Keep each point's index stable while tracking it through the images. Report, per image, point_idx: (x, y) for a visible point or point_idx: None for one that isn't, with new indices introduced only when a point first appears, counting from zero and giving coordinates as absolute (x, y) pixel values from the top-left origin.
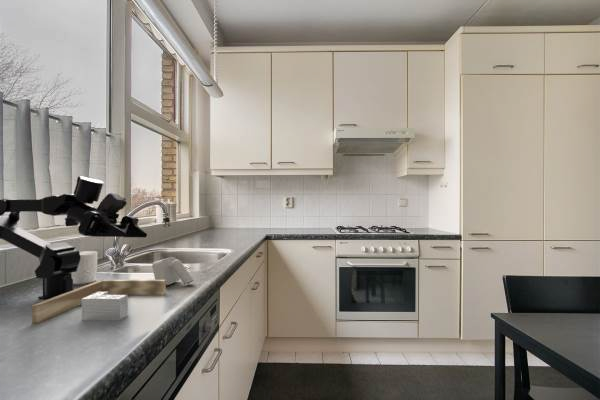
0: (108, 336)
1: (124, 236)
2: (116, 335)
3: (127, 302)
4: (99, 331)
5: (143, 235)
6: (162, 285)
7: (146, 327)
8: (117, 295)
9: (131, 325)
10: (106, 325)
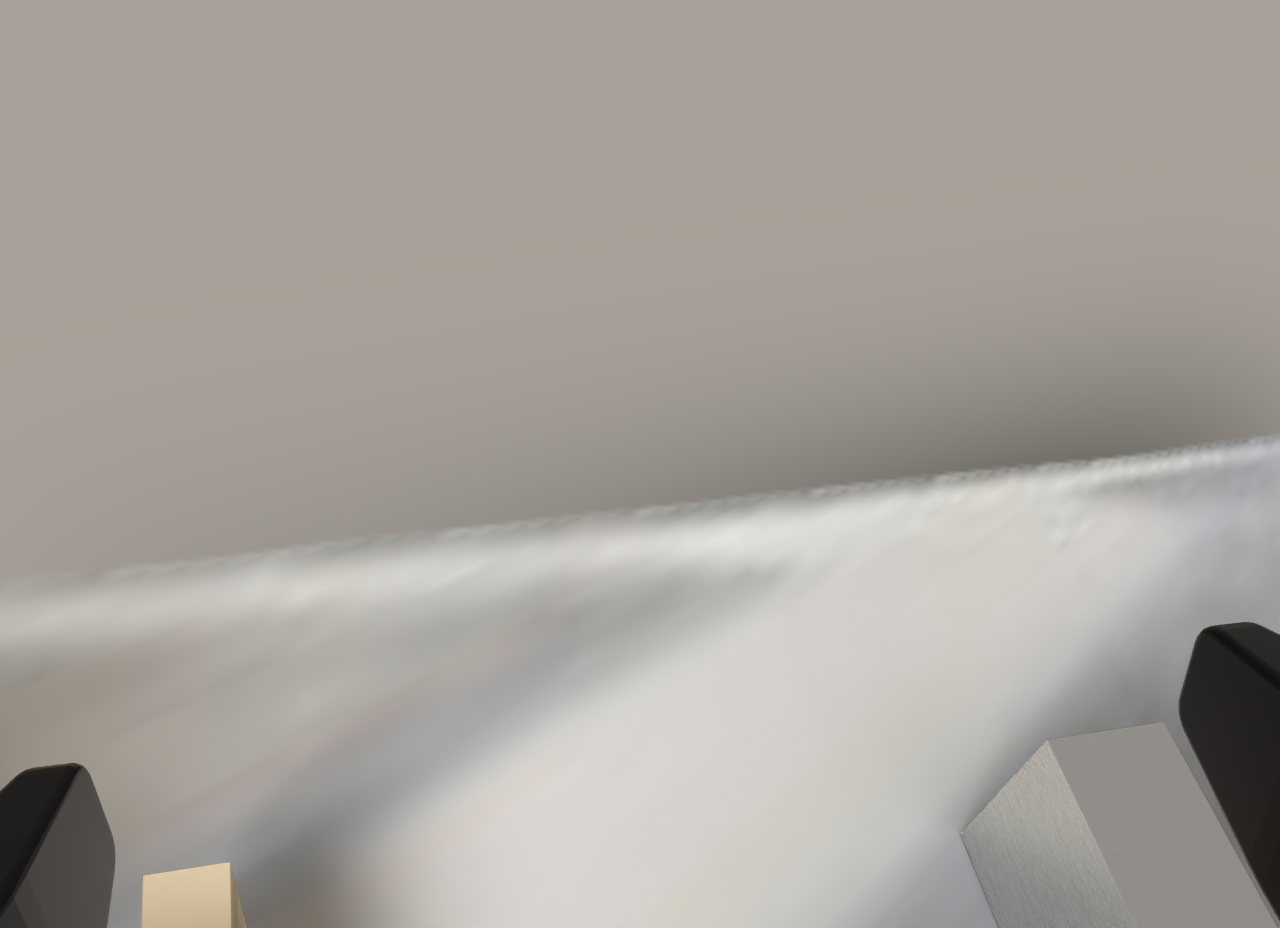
0: None
1: (1196, 707)
2: None
3: (1014, 775)
4: None
5: (82, 903)
6: (237, 899)
7: (1051, 540)
8: (1114, 828)
9: (1080, 655)
10: None
